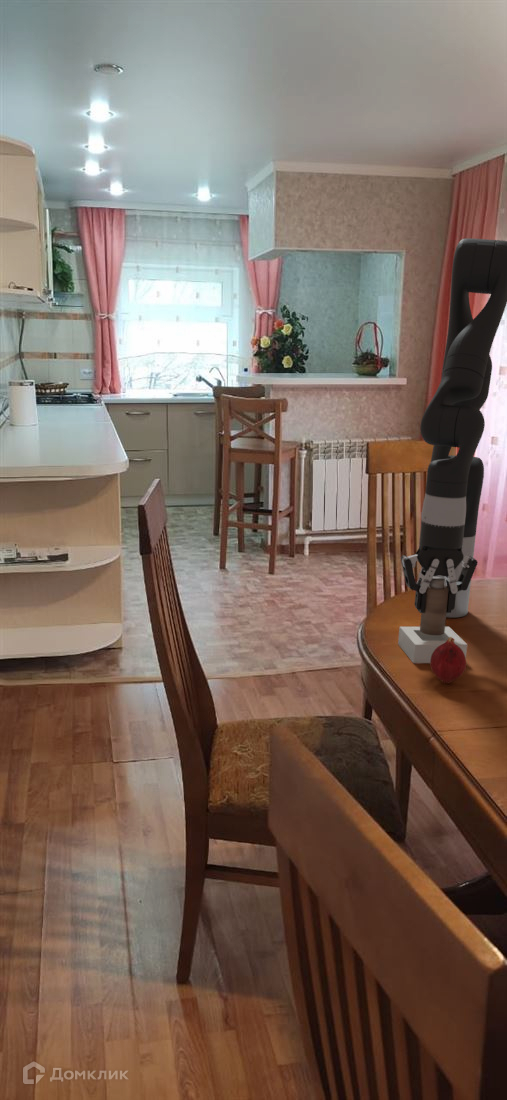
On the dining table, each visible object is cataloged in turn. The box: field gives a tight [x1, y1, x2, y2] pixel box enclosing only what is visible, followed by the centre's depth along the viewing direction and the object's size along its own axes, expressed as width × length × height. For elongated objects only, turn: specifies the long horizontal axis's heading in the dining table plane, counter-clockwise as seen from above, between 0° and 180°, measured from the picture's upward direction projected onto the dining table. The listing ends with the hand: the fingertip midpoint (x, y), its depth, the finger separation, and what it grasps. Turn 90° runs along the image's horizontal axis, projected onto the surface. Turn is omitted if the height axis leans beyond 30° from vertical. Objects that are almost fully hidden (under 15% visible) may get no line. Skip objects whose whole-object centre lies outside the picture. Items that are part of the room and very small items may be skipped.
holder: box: [397, 626, 468, 664], centre depth 154 cm, size 10×10×4 cm
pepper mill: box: [419, 577, 449, 635], centre depth 152 cm, size 4×4×10 cm
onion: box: [430, 637, 467, 684], centre depth 140 cm, size 6×6×8 cm
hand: (434, 611), depth 153 cm, fingers closed on pepper mill, 4 cm apart
